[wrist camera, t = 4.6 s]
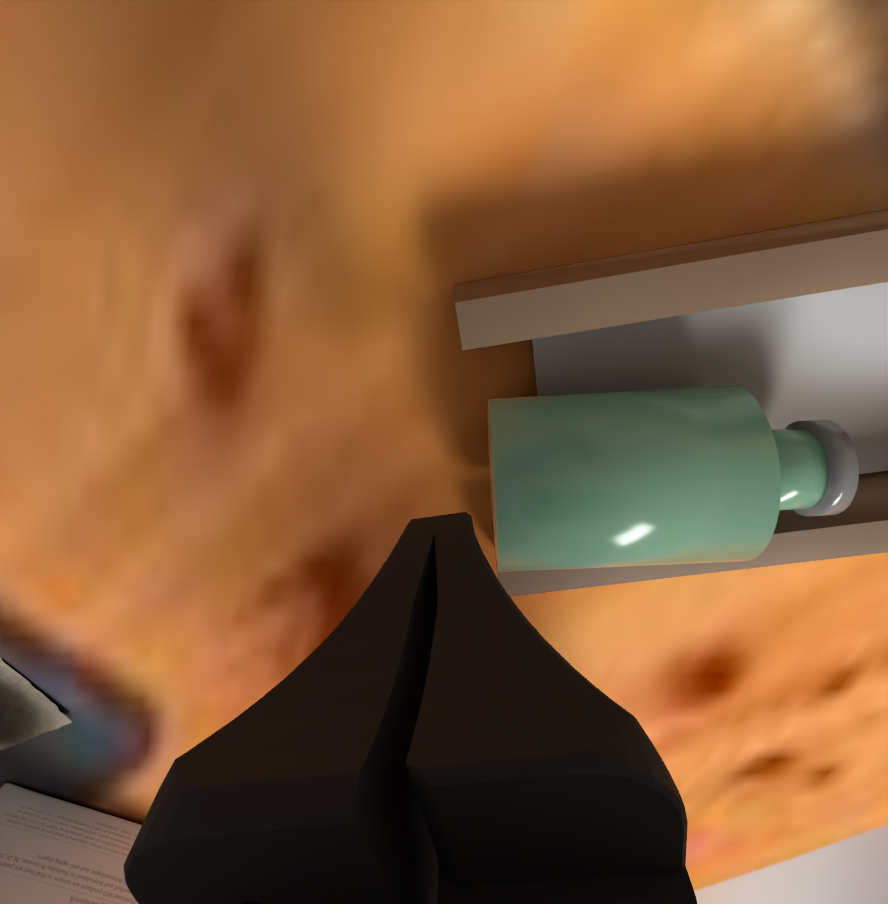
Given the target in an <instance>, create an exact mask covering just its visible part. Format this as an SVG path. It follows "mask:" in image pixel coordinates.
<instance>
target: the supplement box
mask: <svg viewBox="0 0 888 904" xmlns="http://www.w3.org/2000/svg"><path fill="white" fill-rule="evenodd" d="M141 827H142V825H140V824H137V823H134V822H130V821H127V820H124V819H121V818H118V817H114V816H111V815H108V814H105V813H102V812H98V811H95V810H92V809H89V808H85V807H82V806H79V805H76V804H73V803H69V802H66V801H62V800H59V799H56V798H53V797H50V796H46V795H43V794H40V793H37V792H34V791H30V790H27V789H24V788H21V787H19V786H16V785H13V784H10V783H5V784H4V785H3V786H2V787H1V788H0V904H138V902H137V901H136V900H135V899H134V897H133V895H132V894H131V892H130V890H129V888H128V887H127V884H126V882H125V877H124V867H123V865H124V863H125V861H126V859H127V856H128V854H129V852H130V850H131V848H132V846H133V844H134V841H135V839H136V837H137V835H138V833H139V831H140V829H141Z"/></svg>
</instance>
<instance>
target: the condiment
mask: <svg viewBox="0 0 888 904" xmlns="http://www.w3.org/2000/svg"><path fill="white" fill-rule="evenodd" d="M5 719H8V722H7V721H5ZM69 723H71V721H70V720H69V719H68V718H67V717H66V716H65V715H64V714H63V713H61V712H60V711H59V709H58V707H57V706H56V705H55V704H54V703H52V702H51V701H50V700H49V699H48V698H47V697H46V696H44V695H43V694H42V693H41V692H39V691H38V690H36V689H35V688H34V687H33V686H32V685H31V683H30V682H29V681H27V680H26V679H25V678H24V677H22V676H21V675H20V674H19V673H17V672H16V671H15V670H13V669H12V668H11V667H9V666H8V665H7V664H6V663H4V662H3V660H2V657H0V750H3V749H7V748H10V747H11V746H16V745H19V744H21V743H23V742H25V741H27V740H29V739H32V738H34V737H36V736H38V735H40V734H43V733H45V732H48V731H52V730H56V729H58V728H60V727H62V726H64V725H67V724H69Z"/></svg>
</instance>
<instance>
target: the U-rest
mask: <svg viewBox="0 0 888 904" xmlns="http://www.w3.org/2000/svg"><path fill="white" fill-rule="evenodd" d="M455 308H456V314H457V320H458V327H459V333H460V339H461V345H462V351H463V350H469V349H475V348H482V347H488V346H494V345H500V344H506V343H513V342H519V341H525V340H531V339H532V346H533V356H534V366H535V376H536V386H537V396H547V395H564V394H580V393H596V392H613V391H629V390H645V389H662V388H678V387H695V386H711V385H727V384H731V385H737V386H740V387H742V388H744V389H745V390H747V391H748V392H749V393H750V394H751V395H752V396H753V397H754V398H755V399H756V401H757V402H758V403H759V405H760V406H761V408H762V410H763V411H764V413H765V415H766V417H767V419H768V421H769V424H770V427H771V429H772V430H777V429H785V428H786V427H787V426H788V425H789V424H791V423H793V422H796V421H806V420H830V421H832V422H834V423H836V424H838V425H839V426H840V427H841V428H842V429H843V430H844V431H845V432H846V433H847V435H848V436H849V438H850V440H851V441H852V444H853V446H854V448H855V451H856V455H857V459H858V466H859V479H858V486H857V490H856V494H855V496H854V498H853V500H852V502H851V504H850V505H849V506H848V507H847V508H846V509H845V510H844V511H842V512H841V513H839V514H836V515H826V516H802V515H800V514H797V513H796V512H794V511H793V510H779V515H778V519H777V524H776V527H775V530H774V533H773V536H772V538H771V540H770V542H769V544H768V545H767V547H766V548H765V550H764V551H763V552H762V553H761V554H760V555H759V556H758V557H756V558H754V559H752V560H749V561H737V562H715V563H692V564H670V565H648V566H626V567H603V568H581V569H559V570H537V571H515V572H498V578H499V582H500V583H501V585H502V586H503V588H504V589H505V591H506V592H507V594H508V595H509V596H517V595H526V594H534V593H543V592H551V591H560V590H568V589H577V588H585V587H594V586H602V585H611V584H619V583H628V582H637V581H645V580H654V579H662V578H671V577H679V576H688V575H696V574H705V573H713V572H722V571H731V570H739V569H748V568H756V567H765V566H773V565H782V564H790V563H799V562H807V561H816V560H824V559H833V558H842V557H850V556H859V555H867V554H876V553H884V552H888V210H882V211H877V212H871V213H865V214H859V215H854V216H848V217H842V218H836V219H830V220H825V221H819V222H813V223H807V224H802V225H796V226H790V227H784V228H779V229H773V230H767V231H761V232H755V233H750V234H744V235H738V236H732V237H727V238H721V239H715V240H709V241H704V242H698V243H692V244H686V245H680V246H675V247H669V248H663V249H657V250H652V251H646V252H640V253H634V254H629V255H623V256H617V257H611V258H605V259H600V260H594V261H588V262H582V263H577V264H571V265H565V266H559V267H554V268H548V269H542V270H536V271H530V272H525V273H519V274H513V275H507V276H502V277H496V278H490V279H484V280H479V281H473V282H467V283H461V284H455ZM492 526H493V522H492ZM493 536H494V531H493ZM494 545H495V543H494ZM495 554H496V553H495ZM496 564H497V561H496ZM497 571H498V568H497Z"/></svg>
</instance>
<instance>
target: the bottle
mask: <svg viewBox="0 0 888 904" xmlns="http://www.w3.org/2000/svg"><path fill="white" fill-rule="evenodd" d="M488 449H489V471H490V489H491V504H492V518H493V531H494V543H495V553H496V561H497V568H498V572H515V571H537V570H559V569H581V568H603V567H626V566H648V565H670V564H692V563H715V562H737V561H749V560H752V559H754V558H756V557H758V556H759V555H760V554H761V553H762V552H763V551H764V550H765V548H766V547H767V545H768V544H769V542H770V540H771V538H772V536H773V533H774V530H775V527H776V524H777V519H778V515H779V510H793V511H794V512H796V513H797V514H800V515H802V516H826V515H836V514H839V513H841V512H842V511H844V510H845V509H846V508H847V507H848V506H849V505H850V504H851V502H852V500H853V498H854V496H855V494H856V490H857V486H858V479H859V466H858V459H857V455H856V451H855V448H854V446H853V444H852V441H851V440H850V438H849V436H848V435H847V433H846V432H845V431H844V430H843V429H842V428H841V427H840V426H839V425H838V424H836V423H834V422H832V421H830V420H806V421H796V422H793V423H791V424H789V425H788V426H787V427H786V428H785V429H777V430H772V429H771V427H770V424H769V421H768V419H767V417H766V415H765V413H764V411H763V410H762V408H761V406H760V405H759V403H758V402H757V401H756V399H755V398H754V397H753V396H752V395H751V394H750V393H749V392H748V391H747V390H745V389H744V388H742V387H740V386H737V385H731V384H727V385H711V386H695V387H678V388H662V389H645V390H629V391H613V392H596V393H580V394H564V395H547V396H531V397H514V398H498V399H488Z"/></svg>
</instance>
